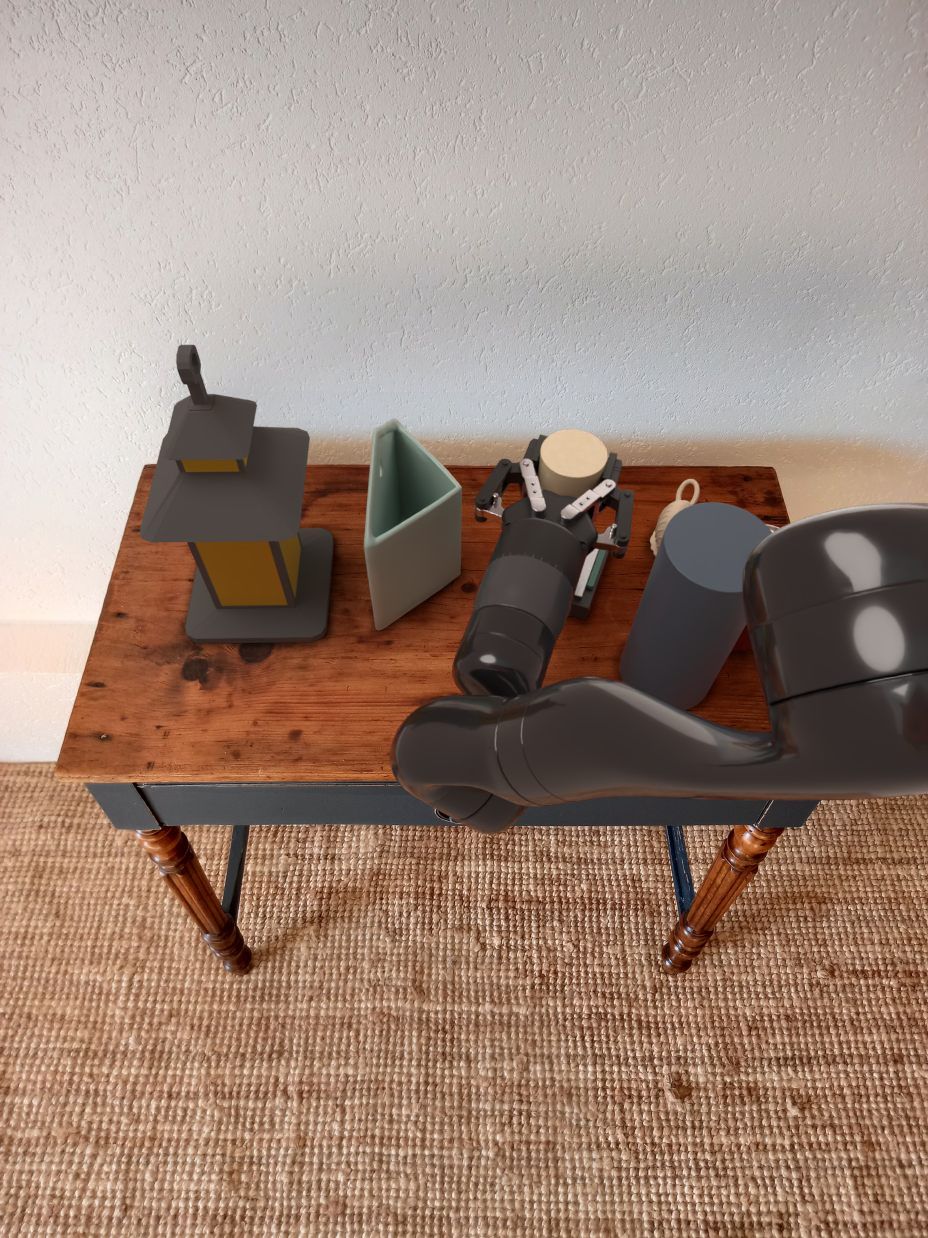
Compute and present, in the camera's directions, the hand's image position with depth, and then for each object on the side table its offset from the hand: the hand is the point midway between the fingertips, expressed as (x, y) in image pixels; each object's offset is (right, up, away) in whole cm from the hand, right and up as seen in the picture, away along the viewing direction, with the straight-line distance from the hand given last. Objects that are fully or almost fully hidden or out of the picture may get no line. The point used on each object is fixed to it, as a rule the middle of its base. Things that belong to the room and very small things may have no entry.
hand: (577, 450), depth 74 cm
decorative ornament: (+13, -7, +15) cm, 21 cm away
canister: (-1, -6, +5) cm, 7 cm away
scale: (-1, -10, +12) cm, 16 cm away
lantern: (-32, -12, +10) cm, 36 cm away
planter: (-15, -11, +12) cm, 22 cm away
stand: (+9, -21, +5) cm, 23 cm away
